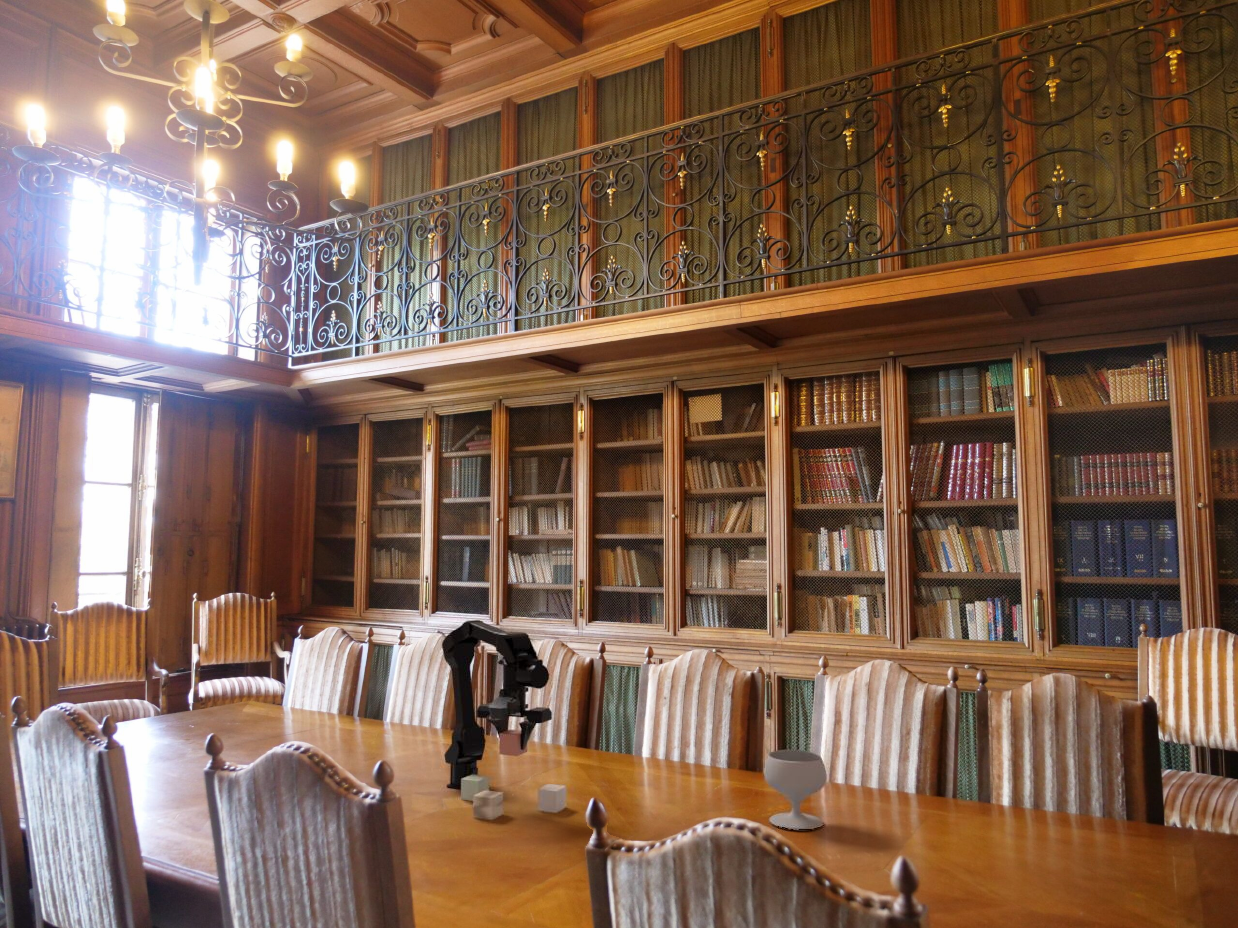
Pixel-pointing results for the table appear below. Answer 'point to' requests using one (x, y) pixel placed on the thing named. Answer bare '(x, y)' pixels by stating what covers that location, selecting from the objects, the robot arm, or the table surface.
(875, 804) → the table surface
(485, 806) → the ash block
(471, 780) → the sage green block
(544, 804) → the pale grey block
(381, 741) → the table surface
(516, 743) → the brick-red block
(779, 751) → the chalice
